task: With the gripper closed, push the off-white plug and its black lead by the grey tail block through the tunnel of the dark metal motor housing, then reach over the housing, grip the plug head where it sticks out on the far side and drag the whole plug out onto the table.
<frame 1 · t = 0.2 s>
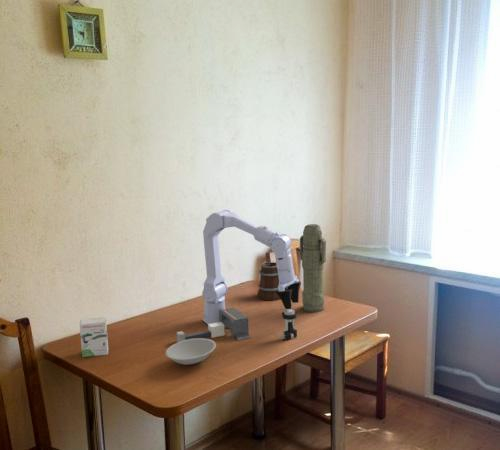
hand: (291, 305, 185), 10 cm above the table, tool pointing down, fingers open, 7 cm apart
thermos: (313, 309, 213), on the table
dish: (191, 363, 165), on the table
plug: (201, 338, 185), on the table
ink box: (95, 353, 175), on the table
motor housing: (233, 331, 191), on the table
mug: (274, 296, 232), on the table
push button: (288, 338, 183), on the table
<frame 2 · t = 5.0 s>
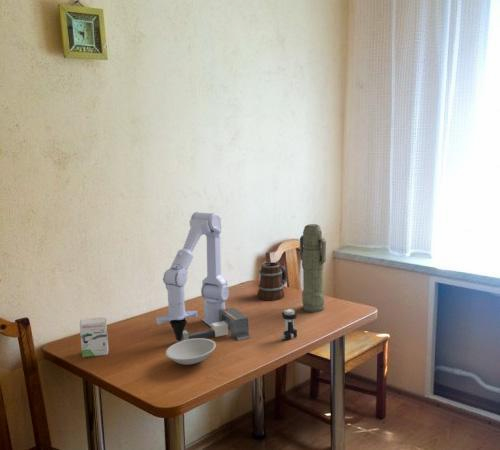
hand: (178, 339, 181), 1 cm above the table, tool pointing down, fingers closed
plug: (204, 337, 186), on the table, touching gripper
everything else where it was.
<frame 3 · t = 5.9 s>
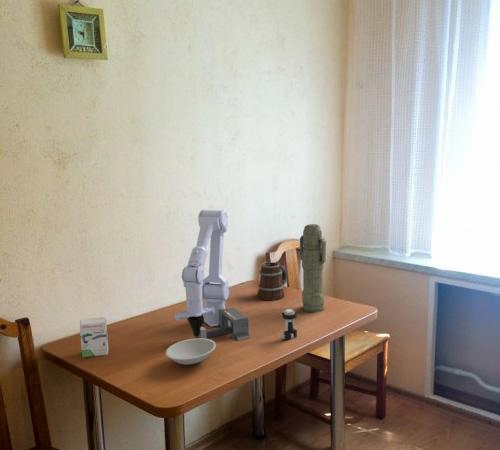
hand: (196, 335, 184), 1 cm above the table, tool pointing down, fingers closed
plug: (221, 333, 188), on the table, touching gripper
everything else where it was.
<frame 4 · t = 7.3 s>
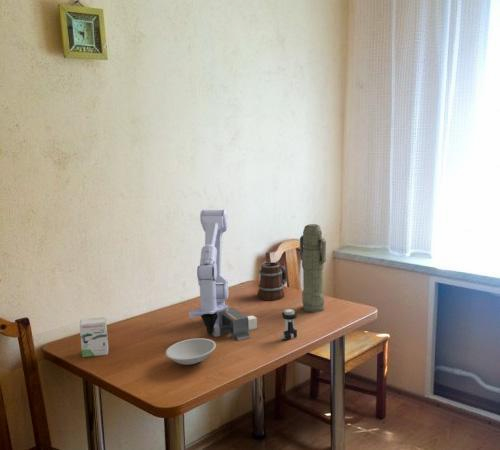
hand: (209, 333, 186), 1 cm above the table, tool pointing down, fingers closed
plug: (234, 331, 191), on the table, touching gripper
everything else where it was.
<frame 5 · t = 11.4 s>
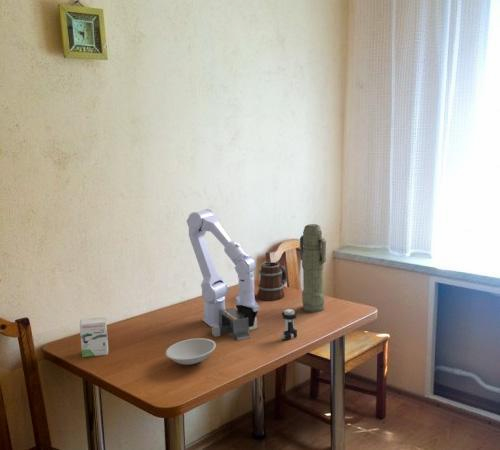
hand: (247, 324, 193), 1 cm above the table, tool pointing down, fingers closed on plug, 4 cm apart
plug: (234, 331, 191), on the table, touching gripper
everything else where it was.
when the fingers open (1 cm above the table, at t = 16.2 s): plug stays where it is, on the table.
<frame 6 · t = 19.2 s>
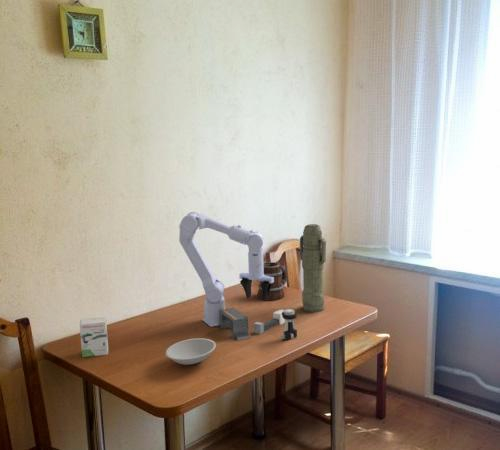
hand: (257, 298, 198), 9 cm above the table, tool pointing down, fingers open, 7 cm apart
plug: (271, 326, 194), on the table
everything else where it was.
at the end: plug inside the target area (3.0 cm from its centre), on the table; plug touching table; the gripper is holding nothing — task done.
